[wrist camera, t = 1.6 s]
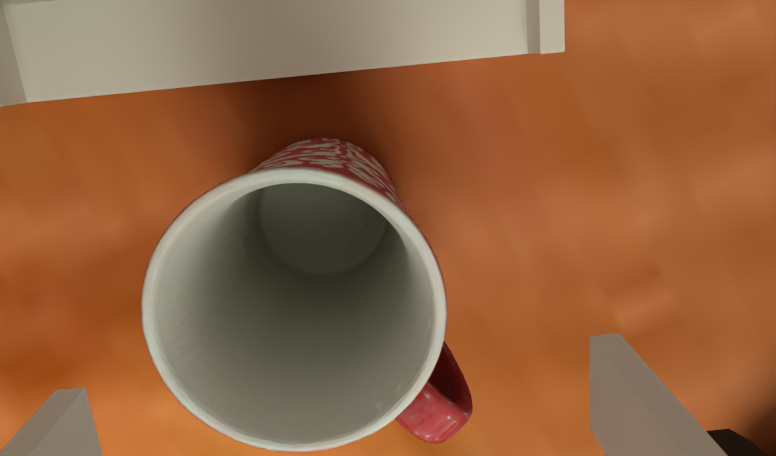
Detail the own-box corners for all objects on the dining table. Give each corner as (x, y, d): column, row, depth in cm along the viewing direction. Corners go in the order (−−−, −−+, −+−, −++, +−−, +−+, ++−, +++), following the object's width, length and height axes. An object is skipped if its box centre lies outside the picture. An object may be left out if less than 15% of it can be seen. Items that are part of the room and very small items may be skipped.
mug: (191, 200, 31) (70, 312, 18) (327, 76, 29) (303, 99, 16) (361, 370, 34) (364, 571, 21) (492, 265, 32) (581, 409, 19)
